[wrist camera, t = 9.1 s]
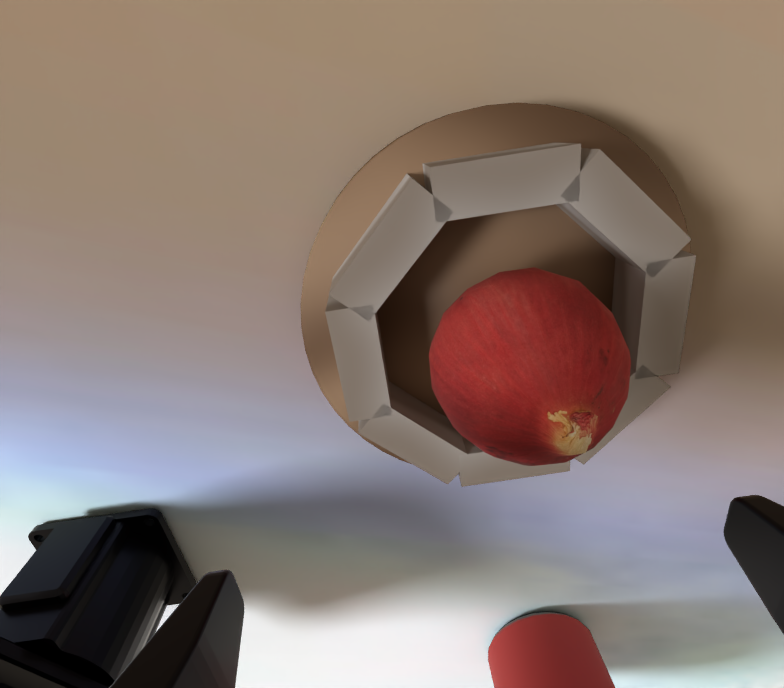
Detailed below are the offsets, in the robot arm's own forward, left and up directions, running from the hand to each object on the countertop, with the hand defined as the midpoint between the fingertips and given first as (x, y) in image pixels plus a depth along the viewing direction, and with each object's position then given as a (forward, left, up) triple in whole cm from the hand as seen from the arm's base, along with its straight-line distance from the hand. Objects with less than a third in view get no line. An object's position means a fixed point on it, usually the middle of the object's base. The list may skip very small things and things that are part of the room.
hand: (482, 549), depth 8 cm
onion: (0, -3, -10) cm, 11 cm away
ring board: (0, -3, -12) cm, 12 cm away
